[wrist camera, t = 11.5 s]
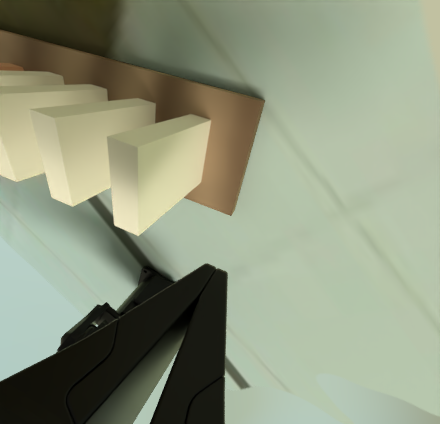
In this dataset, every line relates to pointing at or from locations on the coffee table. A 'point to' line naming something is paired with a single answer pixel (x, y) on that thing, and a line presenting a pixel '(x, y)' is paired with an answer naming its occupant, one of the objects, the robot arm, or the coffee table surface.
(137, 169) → the ivory domino
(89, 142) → the ivory domino
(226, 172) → the walnut board
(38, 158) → the ivory domino
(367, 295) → the coffee table surface
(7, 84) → the ivory domino
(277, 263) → the coffee table surface
